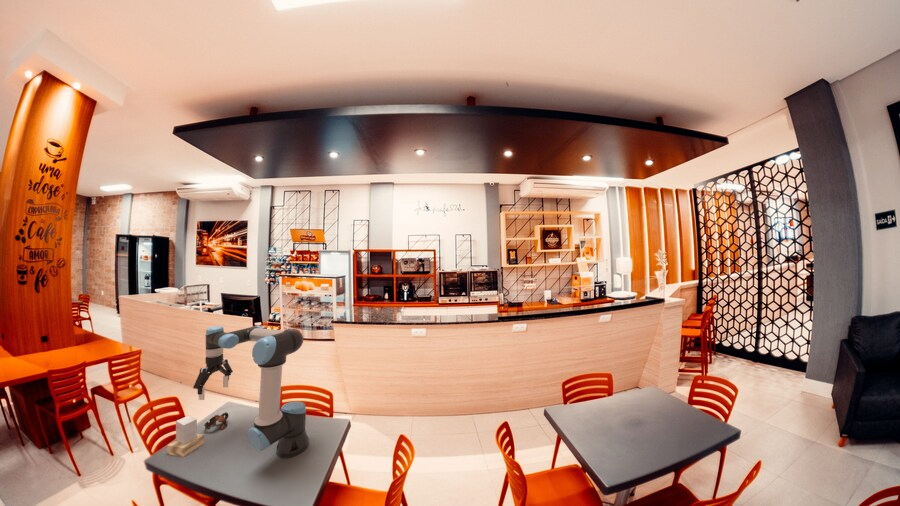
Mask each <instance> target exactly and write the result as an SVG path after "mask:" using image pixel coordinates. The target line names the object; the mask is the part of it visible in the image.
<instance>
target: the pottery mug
mask: <svg viewBox="0 0 900 506" xmlns="http://www.w3.org/2000/svg"><path fill="white" fill-rule="evenodd" d="M228 419H229V413H228V412H223V413H222V414H221V415H219V414H216V415H214V416H212V417H211V418H210V419H208V421H206V422H205V423H204V425H203V426H204V430H210V428H211V427H213V426H217V422H218V423H219V424H221V423H222V425H221V426H220V429H221V430H222V431H223V430H225V429H226V428H227V426H228V422H227V420H228Z"/></svg>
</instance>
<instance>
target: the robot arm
mask: <svg viewBox="0 0 900 506" xmlns="http://www.w3.org/2000/svg"><path fill="white" fill-rule="evenodd" d="M204 337H205V358H204V359H205V365H206V366H205V367H203V368H202V367H201V368H200V369H199V372H198V375H197V378H196V380H195V382H194V385H193V387H192V388H193V390H194V389H195V390H197V395H198V400H199V401H204V400H205V394H206V392H205V391H206V389H205V385H206V383H207V381H208V380H209V379H210V377H211V376H212V375H213V374H214V373H216V372H220V373H221V374H223V376H222V387H223V388H226V389H228V388H229V381H230V376H231V375H232V373H233V369H232V367H231V365H230V364H229V360H228V359H226V358H224V349H233V348H234V347H236V346H237V345H240V344H243V343H247V342H255V343H254V345H253V348H252V350H251V351H252V352H251V355H252V358H253V359H252V360H253V362H254V363H255V364H256V365H257V367H258V368H260V369H261V370H260V384H259V385H260V386H259V398H258V399H259V401H258V402H259V403H258V415H257V416H256V417H255V418H254V422H253V426H252V427H251V426H250V428H249V429H248V431H247V434H246V435H247V441H248V443H249V445H250V446H251V447H252V448H253V449H254V450H255V451H257V452H261V451H262V452H263V450H265V449H267V448H270V447H271V446H272V445H274V444H275V443H277V444H276V448H275V453H276V456H278V458H279V457H280V458H287V459H288V458H292V457H295V456H297V455H299V454H302V453H303V452H304V451H305V450H306V449H307V448H308V446H309V444H310V443H309V441H310V440H309V436H308V435H307V430H306V422H307V421H306V419H307V418H306V416H307V409H306V404H305V403H304V402H302V401H290V402H287V403H285V404H283V405H282V406H281V405H280V404H281V393H282V392H281V390H282V373H283V365H285V364H286V362H287V356H288V355H291V354H293V353H295V352H298V351H299V349H300V348H301V347H302V346H303V344H304V335H303V333H302V332H301V331H299V330H298V329H290V328H287V329H285V330H283V329H282V330H281V329H272V328H271V329H270V328H263V327H262V326H260V325H255V326H254V325H253V326H251V327H247V328H242V329H238V330H234V331H229V332H225V330H224V327H223V326H221V325H220V326H219V325H218V326H212V327H208V328H207V329H206V330H205V336H204ZM222 365H223V366H222ZM280 406H281V408H280Z"/></svg>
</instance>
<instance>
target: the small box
mask: <svg viewBox="0 0 900 506" xmlns="http://www.w3.org/2000/svg"><path fill="white" fill-rule="evenodd" d="M197 420H198V419H197V418H195V417H193V416H191V415H187V416H185V417H182V418H180V419H177V420H176V421H175V440H176V441H178V442H180V443H181V444H183V445H185V444H187V443H189V442H191V441H193V440H195V439H197V434H198V432H197V431H198V430H197V429H198V426H197V424H198V421H197Z"/></svg>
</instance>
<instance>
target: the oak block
mask: <svg viewBox="0 0 900 506" xmlns="http://www.w3.org/2000/svg"><path fill="white" fill-rule="evenodd" d="M204 443H205V434H201V433H197V439H195V440H193V441H191V442H189V443H187V444H185V445H183V444H181V443H180V442H178V441H176V439H175V440H173V441H172V442H170V443H168V444H167V445H166V455H168V454H169V455H170V456H175V457H180V458H185V457H186V456H188V455H189V454H191V453H192V452H194V451H195V450H197V448H198V449H199V447H200V446H202V445H204Z"/></svg>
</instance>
